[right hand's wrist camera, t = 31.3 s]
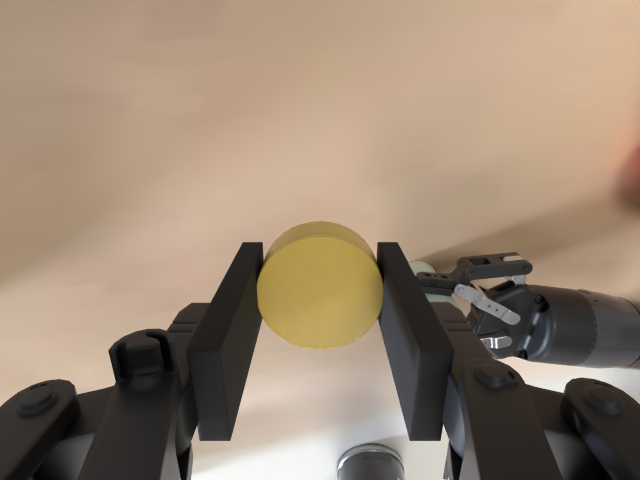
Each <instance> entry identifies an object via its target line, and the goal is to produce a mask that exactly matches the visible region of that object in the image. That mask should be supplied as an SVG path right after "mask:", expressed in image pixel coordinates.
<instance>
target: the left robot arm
mask: <svg viewBox="0 0 640 480" xmlns="http://www.w3.org/2000/svg"><path fill="white" fill-rule="evenodd" d="M457 265H458V266H457V268H456V269H455V270H454V271H453V272H452V273H450V274H439V273H431V272H418V273H416V278H417V280H418V282H419V284H420V286H421V288H422V289H423V291H424V293H426V294H435V295H444V296H451V295H452V293H455V294H456V295H457V296H459V297H461V298H463V299H465V300H467V301H469V302H471V311H470V313H469V314H468V316H467V318H466V319H467V320H468V322H469V323H470V325H471V326H472V328H473V329H474V331H475V332H476V334H477V335H478V337H479V338H480V340H481V341H482V343H483V344H484V346H485V347H486V349H487V350H488V352H489V353H490V355H491V356H492V358H493V359H494V360H497V359H503V358H506V357H511V356H515V357H518V358H521V359H524V360H527V361H531V362H540V363H550V364H559V365H569V366H579V367H588V368H623V369H632V370H640V300H638V299H630V298H621V297H614V296H609V295H606V294H601V293H597V292H591V291H587V290H582V289H580V290H573V289H565V288H555V287H547V286H538V285H527V284H525V276H526V275H527V274H529V273H530V272H531V271H532V269H533V266H532V265H531V264H530V263H529V262H528V261H526V260H525V259H524V258H523V257H521V256H520V255H519V254H518V253H516V252H512V253H502V254H492V255H482V256H472V257H462V258H460V259H459V260H458V262H457ZM497 277H504V278H505V279H507V280H508V281H506V282H504V283H502V284H499V285H497V286H495V287H493V288H490V289H488V288H486V287H484V286H482V285H480V284H478V283H476V282H474V281H472V280H476V279H486V278H497ZM337 472H338V480H405V476H404V468H403V464H402V460H401V458H400V456H399V455H398V454H397V453H396V452H395V451H393V450H392V449H390V448H388V447H385V446H382V445H376V444H367V445H361V446H358V447H355V448H353V449H351V450H349V451H347V452H346V453H345V454H344V455H343V456H342V457H341V459H340V460H339V462H338V467H337Z"/></svg>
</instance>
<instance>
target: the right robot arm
mask: <svg viewBox="0 0 640 480" xmlns="http://www.w3.org/2000/svg"><path fill="white" fill-rule="evenodd" d="M263 263H264V259H263V242H243V243H242V245H241V247H240V249H239V251H238V253H237V254H236V256H235V258H234V260H233V262H232V264H231V266H230V267H229V269H228V271H227V273H226V275H225V277H224V279H223V281H222V282H221V284H220V286H219V288H218V290H217V292H216V294H215V296H214V297H213V299H212V301H211V303H191V304H190V305H188V306H187V307H185V308H184V309H183V310H181V311H180V312H179V313H178V315H177V316H176V318H175V319H174V321H173V324H171V325H170V327H169V328H168V330H167V331H165V330H162V329H146V330H141V331H136V332H134V333H131V334H129V335H126V336H124V337H123V338H121V339H120V340H118V341H117V342H115V343H114V344H113V345H112V347H111V348H110V349H109V350H108V351H109V355H110V359H111V363H112V367H113V371H114V375H115V380H116V383H115V385H114V386H111V387H108V388H105V389H100V390H96V391H91V392H87V393H82V394H78V395H77V393H76V389H75V386H74V385H73V384H72V383H71V382H70V381H66V380H61V379H57V380H48V381H44V382H40V383H37V384H35V385H32V386H30V387H28V388H26V389H24V390H22V391H20V392H18V393H17V394H15V395H14V396H13V397H11V398H10V399H9V400H8V401H6V402H5V403H4V404H3V405H2V406H1V407H0V480H191V473H192V463H193V452H192V445H191V440H192V437H193V435H194V432H195V429H196V427H197V426H198V433H199V439H200V441H230V440H231V436H232V432H233V429H234V425H235V421H236V417H237V413H238V410H239V406H240V402H241V398H242V394H243V390H244V387H245V383H246V379H247V375H248V371H249V367H250V364H251V360H252V356H253V352H254V348H255V345H256V341H257V337H258V333H259V329H260V325H261V322H262V318H263V317H262V316H261V313H260V311H259V308H258V298H257V280H258V277H259V274H260V271H261V268H262V266H263ZM377 265H378V268H379V270H380V273H381V276H382V280H383V301H382V309H381V312H380V314H379V316H378V321H379V325H380V328H381V332H382V336H383V340H384V344H385V347H386V351H387V355H388V359H389V363H390V367H391V370H392V374H393V378H394V382H395V386H396V389H397V393H398V397H399V401H400V405H401V409H402V412H403V416H404V420H405V424H406V428H407V432H408V435H409V439H410V441H441V434H442V428H443V424H444V427H445V429H446V432H447V435H448V437H449V445H448V451H447V457H446V463H445V469H444V476H443V479H446V480H448V477H449V480H640V404H639V403H638V402H636V401H635V400H634V399H633V398H632V397H630V396H629V395H628V394H626V393H625V392H624V391H622V390H620V389H618V388H616V387H614V386H612V385H610V384H608V383H605V382H602V381H599V380H595V379H588V378H577V379H572V380H571V381H569V382H568V383H567V384H566V387H565V390H564V393H560V392H556V391H551V390H547V389H542V388H538V387H534V386H531V385H527V384H525V382H524V380H523V379H522V377H521V376H520V374H519V373H518V372H517V371H515V370H514V369H513V368H511V367H510V366H509V365H506V364H504V363H502V362H500V361H498V360H494V359H493V358H492V356H491V355H490V353H489V352H488V350H487V349H486V347H485V346H484V344H483V343H482V341H481V340H480V338H479V337H478V335H477V334H476V332H475V331H474V329H473V328H472V326H471V325H470V323H468V320H467V319H466V317H465V316H464V314H463V313H462V311H461V310H460V309H458V308H457V307H455V306H454V305H453V304H451V303H450V302H429V301H428V299H427V297H426V295H425V293H424V291H423V289H422V288H421V286H420V284H419V282H418V280H417V278H416V276H415V274H414V273H413V271H412V269H411V267H410V265H409V263H408V261H407V260H406V258H405V256H404V254H403V252H402V250H401V248H400V246H399V245H398V243H397V242H378V246H377Z"/></svg>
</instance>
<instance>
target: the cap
mask: <svg viewBox="0 0 640 480" xmlns="http://www.w3.org/2000/svg"><path fill="white" fill-rule="evenodd" d="M257 298H258V308H259V311H260V313H261V316H262V317H263V319H264V321H265V322H266V324H267V325H268V326H269V327H270V329H271V330H272V331H274V332H275V333H276V334H277V335H278V336H280V337H281V338H282V339H284V340H286V341H288V342H290V343H292V344H294V345H297V346H300V347H304V348H309V349H331V348H336V347H340V346H343V345H346V344H349V343H351V342H353V341H354V340H356V339H358V338H359V337H361V336H362V335H363V334H364V333H366V332H367V331H368V330H369V329H370V328H371V326H372V325H373V324H374V322H375V321H376V320H377V318H378V316H379V314H380V312H381V309H382V301H383V280H382V276H381V273H380V270H379V268H378V265H377V262H376V259H375V256H374V254H373V252H372V250H371V248H370V247H369V245H368V244H367V243H366V242H365V240H364V239H363V238H362V237H360V236H359V235H358V234H357V233H355V232H354V231H352V230H351V229H349V228H347V227H345V226H342V225H339V224H336V223H331V222H310V223H305V224H301V225H298V226H296V227H293V228H291V229H290V230H288V231H286V232H285V233H283V234H282V235H281V236H280V237H278V239H277V240H276V241H275V242H274V243H273V244H272V246H271V247H270V248H269V250H268V252H267V254H266V257H265V260H264V263H263V266H262V268H261V271H260V274H259V277H258V280H257Z"/></svg>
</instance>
